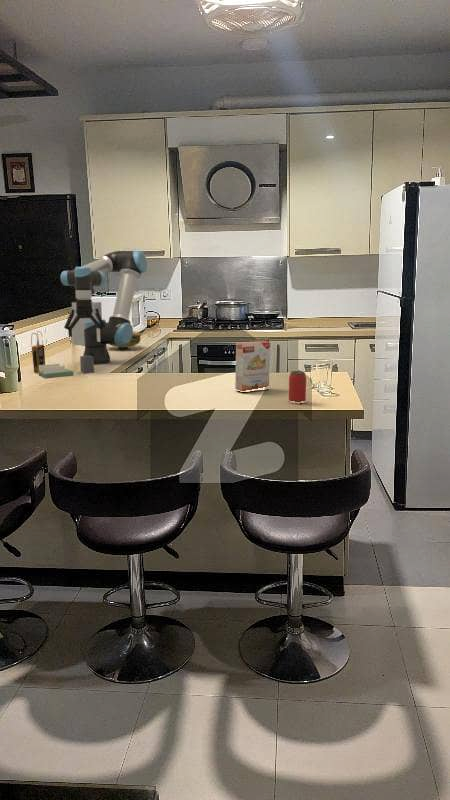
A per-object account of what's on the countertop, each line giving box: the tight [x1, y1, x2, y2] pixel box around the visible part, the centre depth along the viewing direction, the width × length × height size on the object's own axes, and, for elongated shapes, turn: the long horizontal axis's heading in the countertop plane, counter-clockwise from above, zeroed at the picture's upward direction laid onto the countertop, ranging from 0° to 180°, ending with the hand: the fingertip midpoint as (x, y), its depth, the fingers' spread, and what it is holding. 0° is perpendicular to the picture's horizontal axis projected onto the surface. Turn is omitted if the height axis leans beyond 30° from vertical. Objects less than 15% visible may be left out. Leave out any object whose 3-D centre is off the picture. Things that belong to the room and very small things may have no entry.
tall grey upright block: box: [71, 301, 103, 347], centre depth 409 cm, size 19×15×28 cm
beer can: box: [288, 370, 307, 402], centre depth 239 cm, size 7×7×12 cm
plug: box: [79, 355, 95, 374], centre depth 307 cm, size 5×5×8 cm
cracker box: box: [234, 340, 271, 391], centre depth 260 cm, size 14×6×21 cm, turn 122°
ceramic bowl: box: [108, 331, 143, 351], centre depth 390 cm, size 30×24×10 cm
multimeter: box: [30, 330, 46, 375], centre depth 309 cm, size 15×10×20 cm
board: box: [38, 363, 74, 379], centre depth 299 cm, size 14×9×5 cm, turn 124°
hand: (85, 342), depth 305 cm, fingers open, 13 cm apart
